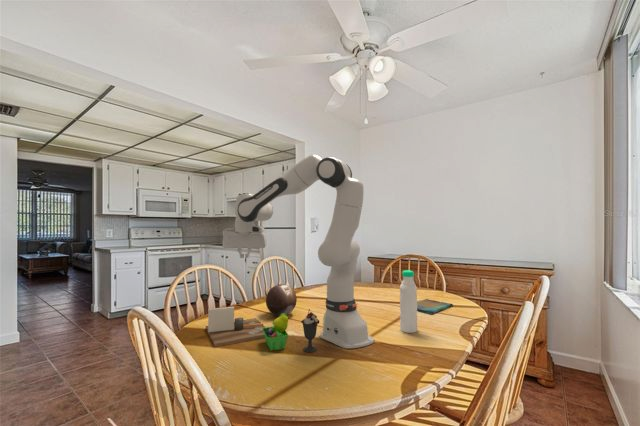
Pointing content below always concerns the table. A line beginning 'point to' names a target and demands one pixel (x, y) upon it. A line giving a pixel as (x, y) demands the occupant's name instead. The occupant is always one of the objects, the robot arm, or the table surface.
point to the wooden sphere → (281, 299)
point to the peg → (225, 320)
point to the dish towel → (431, 306)
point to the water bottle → (408, 303)
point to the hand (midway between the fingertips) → (244, 257)
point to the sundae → (310, 330)
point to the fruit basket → (277, 333)
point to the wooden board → (237, 334)
